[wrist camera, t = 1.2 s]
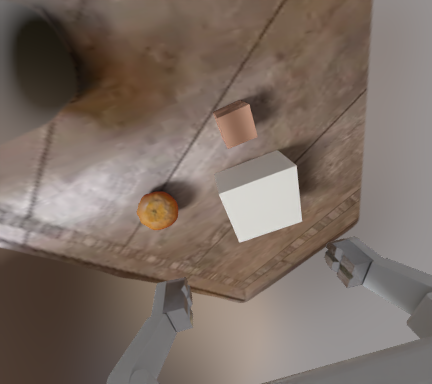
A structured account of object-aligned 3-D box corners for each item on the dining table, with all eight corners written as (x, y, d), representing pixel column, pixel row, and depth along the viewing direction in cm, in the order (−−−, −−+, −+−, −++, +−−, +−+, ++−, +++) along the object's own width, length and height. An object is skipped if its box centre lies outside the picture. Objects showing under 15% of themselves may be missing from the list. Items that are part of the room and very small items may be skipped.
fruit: (153, 227, 41) (138, 237, 33) (145, 194, 41) (128, 197, 33) (186, 219, 41) (179, 228, 33) (178, 187, 41) (169, 187, 33)
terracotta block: (239, 100, 30) (249, 104, 25) (247, 127, 33) (257, 136, 28) (212, 112, 30) (217, 118, 25) (222, 138, 33) (228, 149, 28)
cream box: (276, 149, 36) (296, 165, 29) (284, 199, 43) (301, 221, 37) (213, 173, 37) (218, 194, 30) (232, 218, 45) (239, 242, 38)
